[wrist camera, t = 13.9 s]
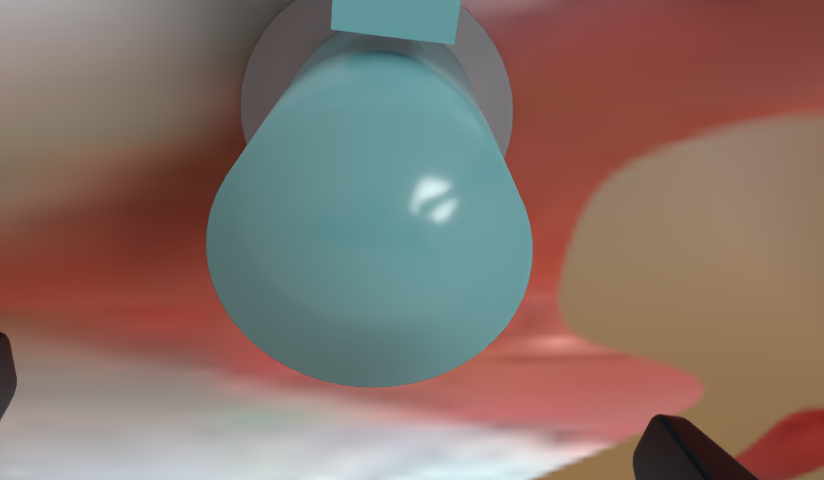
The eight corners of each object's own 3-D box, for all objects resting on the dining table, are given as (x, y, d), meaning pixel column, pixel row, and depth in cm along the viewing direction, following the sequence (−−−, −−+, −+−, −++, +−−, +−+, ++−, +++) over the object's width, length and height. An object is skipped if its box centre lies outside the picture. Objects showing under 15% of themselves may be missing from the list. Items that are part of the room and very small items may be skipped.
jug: (458, 206, 21) (498, 398, 12) (290, 189, 20) (212, 375, 12) (535, -223, 15) (709, -411, 6) (300, -261, 14) (163, -516, 6)
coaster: (544, 5, 18) (546, 7, 17) (476, 253, 22) (477, 258, 22) (249, -54, 17) (246, -53, 17) (238, 217, 21) (235, 222, 21)
